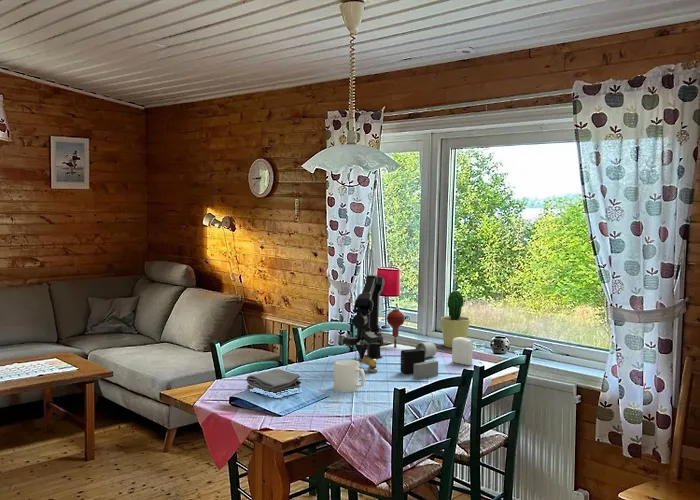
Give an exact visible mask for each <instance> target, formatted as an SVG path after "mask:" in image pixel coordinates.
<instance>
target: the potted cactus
mask: <svg viewBox="0 0 700 500" xmlns="http://www.w3.org/2000/svg"><path fill="white" fill-rule="evenodd" d="M447 296H448V297H447V302H446V304H447V306H446V308H447V309H448V315H446V316H441V317H440V323H441V329H442V330H441V331H442V339H443V340H442V341H443V346H444V347H446V348H451V349H452V341H453V339H454V338H457V337H463V338H467V339H468V334H469V330H470V329H469V328H470V323H471V322H470V321H471V318H470V317H467V316H461V314H462V313H463V307H464V306H465V303H464V296H463V294H462V293H461V292H460V291H459V290H452V291H451V292H450V293H448V295H447Z"/></svg>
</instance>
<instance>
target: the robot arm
mask: <svg viewBox="0 0 700 500" xmlns="http://www.w3.org/2000/svg"><path fill="white" fill-rule="evenodd" d="M385 282H386V281H385V278H383V276H379V275H372V274H370V275H369V274H368V275H366V277H365V283H364V285H363V286H364V287H363V290H362V292H361V293H360V294H358V295H357V296H356V297H357V298H356V299H355V300H354V307H353V312H352V313H354V314H355V313H356V314H355V315H354V316H353V317H352V320H351V323H352V325H353V326H354V329H356V334H355V335H354V337H352V336H345V337H343V339H342V344H344V345H348V346H354V347H355V349H356V350H357V352H358V355H359V359H360V358H361V359H363V357H364V354H365V355H367V356H369V357H371V358H374V359H376V360H377V359H380V358H383V356H382V355H381V347H382V346H384V345H385V342H384V336H383V333H382V329H381V328H380V325H379V315H380V314H379V313H380V311H379V309H380V296H381V293H382V292H383V290H384V286H385Z"/></svg>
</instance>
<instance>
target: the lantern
mask: <svg viewBox="0 0 700 500" xmlns="http://www.w3.org/2000/svg"><path fill="white" fill-rule="evenodd" d="M405 320H406V318H405V315H404V314H403V312H402V311H400V309H398V308H394V309H392V311H390V312H389V313H388V314H387V316H386V321H387V323H388V325H390V326H391V330H392V337H393V338H394V340H393V348H395V349H396V348H397V339H396V338H397V337H399V334H400V333H399V329H400V327H401V326H402V325H403V324H404V323H405Z"/></svg>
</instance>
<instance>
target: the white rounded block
mask: <svg viewBox="0 0 700 500" xmlns="http://www.w3.org/2000/svg"><path fill="white" fill-rule="evenodd" d="M473 346H474V345H473V341H472V340H471V339H469V338H468V337H467V338H463V337H457V338H454V339H453V341H452V348H451V362H452V363H454V362H455V364H459V363H460V365H464V364H465V365H466V366H471V365H472V364H473ZM465 365H464V366H465Z"/></svg>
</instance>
